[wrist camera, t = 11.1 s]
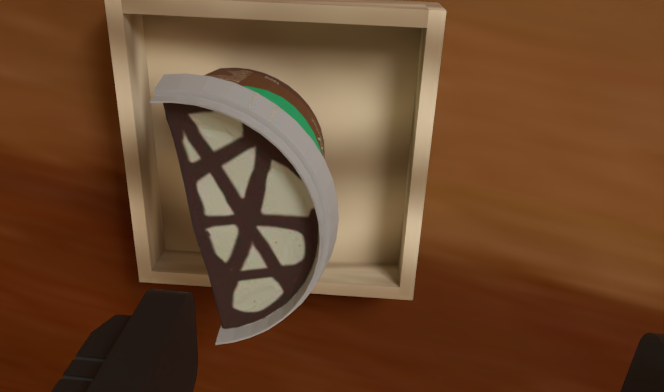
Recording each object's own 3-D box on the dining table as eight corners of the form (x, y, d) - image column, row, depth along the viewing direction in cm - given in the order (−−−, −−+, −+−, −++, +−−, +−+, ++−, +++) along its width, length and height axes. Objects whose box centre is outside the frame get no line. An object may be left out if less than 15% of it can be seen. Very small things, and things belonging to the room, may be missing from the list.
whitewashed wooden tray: (131, -12, 30) (103, -6, 27) (438, 2, 29) (446, 10, 26) (159, 251, 37) (139, 281, 34) (408, 267, 36) (412, 300, 33)
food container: (357, 235, 34) (353, 345, 25) (257, 244, 35) (218, 354, 26) (330, 24, 29) (311, 66, 20) (213, 39, 30) (145, 87, 21)
